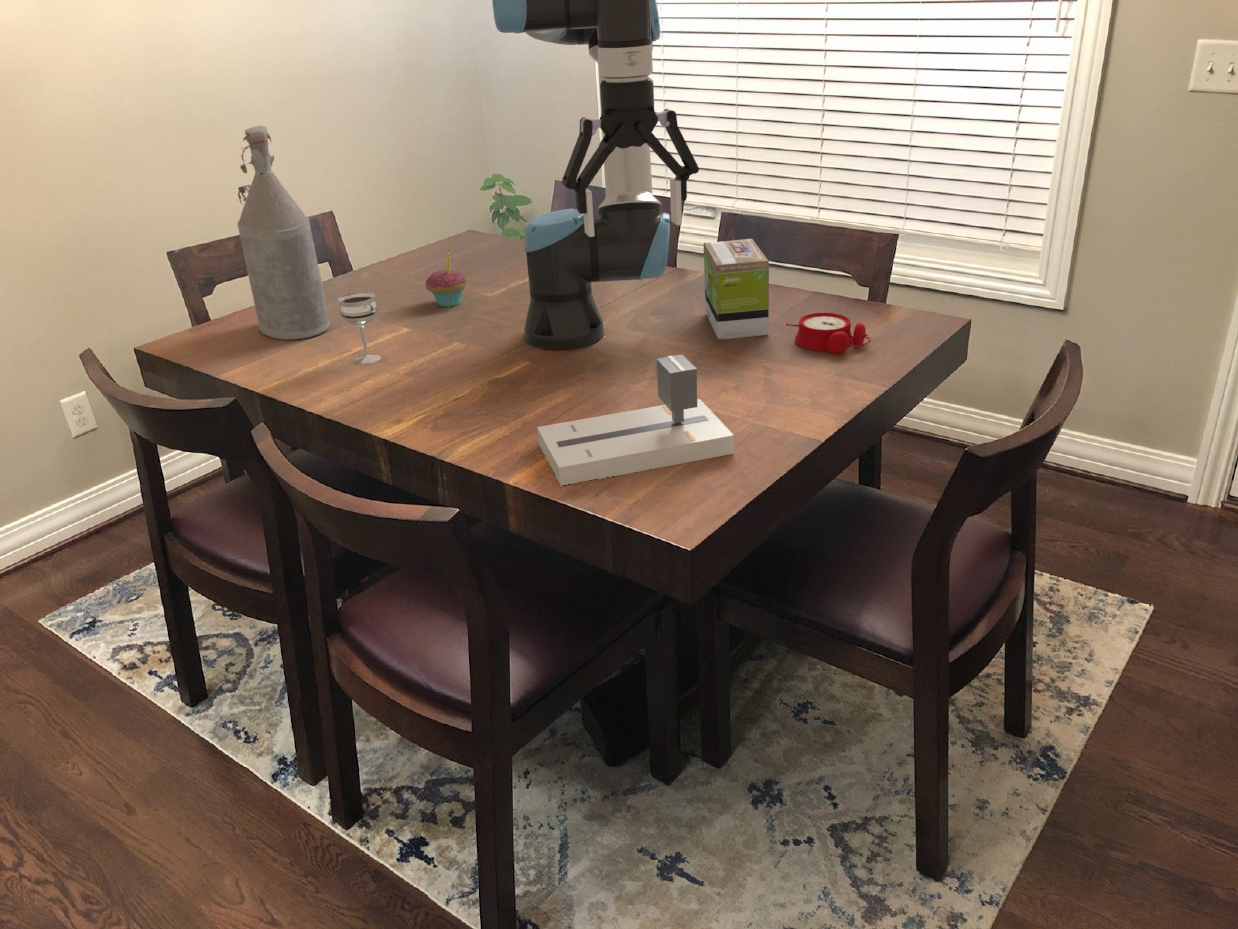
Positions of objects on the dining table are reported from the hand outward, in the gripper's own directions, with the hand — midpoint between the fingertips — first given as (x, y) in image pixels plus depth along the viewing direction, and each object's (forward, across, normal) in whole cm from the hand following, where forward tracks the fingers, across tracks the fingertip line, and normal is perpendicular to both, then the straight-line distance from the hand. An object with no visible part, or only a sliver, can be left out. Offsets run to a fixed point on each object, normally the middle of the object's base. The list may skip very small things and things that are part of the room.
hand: (633, 228), depth 152 cm
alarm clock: (+29, +40, +12) cm, 51 cm away
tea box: (+29, +28, +28) cm, 49 cm away
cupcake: (+29, -22, +66) cm, 75 cm away
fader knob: (+25, +1, -15) cm, 29 cm away
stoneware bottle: (+29, -54, +64) cm, 89 cm away
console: (+29, -6, -15) cm, 33 cm away
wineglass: (+29, -41, +40) cm, 64 cm away
